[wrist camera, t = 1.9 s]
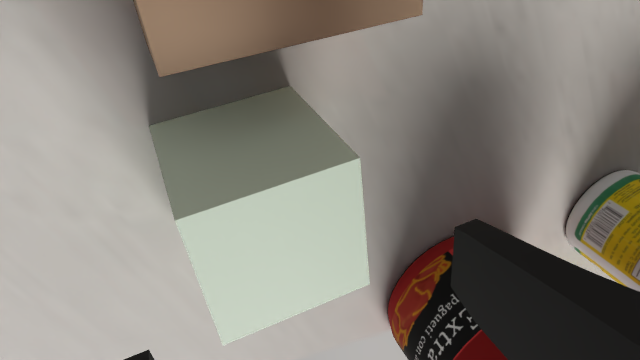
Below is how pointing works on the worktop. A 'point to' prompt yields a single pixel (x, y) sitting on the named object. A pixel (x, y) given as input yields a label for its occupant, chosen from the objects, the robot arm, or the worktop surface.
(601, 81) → the worktop surface
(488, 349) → the canned food
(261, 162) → the sage block
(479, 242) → the robot arm
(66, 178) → the worktop surface
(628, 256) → the supplement bottle
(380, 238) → the worktop surface
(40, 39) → the worktop surface
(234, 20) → the walnut block
